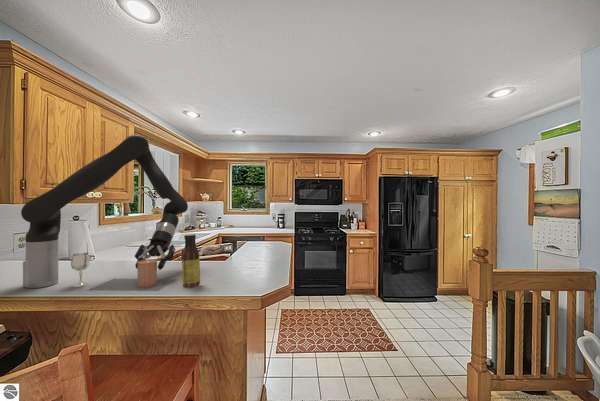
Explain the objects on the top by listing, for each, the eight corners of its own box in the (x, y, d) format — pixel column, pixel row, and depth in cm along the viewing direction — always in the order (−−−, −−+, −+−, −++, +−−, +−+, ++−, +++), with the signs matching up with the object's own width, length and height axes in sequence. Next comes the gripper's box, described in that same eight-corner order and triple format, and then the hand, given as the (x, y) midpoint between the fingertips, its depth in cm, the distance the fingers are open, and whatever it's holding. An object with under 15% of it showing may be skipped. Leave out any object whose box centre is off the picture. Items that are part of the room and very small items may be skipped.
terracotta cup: (133, 286, 100) (133, 263, 100) (144, 281, 107) (144, 259, 107) (150, 287, 100) (150, 263, 100) (160, 281, 107) (160, 259, 107)
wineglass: (79, 288, 100) (79, 256, 100) (66, 286, 102) (66, 255, 102) (93, 283, 106) (93, 253, 106) (82, 282, 107) (82, 252, 107)
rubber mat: (86, 291, 97) (86, 290, 97) (113, 279, 111) (113, 278, 111) (158, 292, 97) (158, 290, 97) (176, 280, 111) (176, 279, 111)
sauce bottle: (203, 284, 105) (203, 234, 105) (190, 289, 99) (191, 236, 99) (191, 282, 108) (191, 233, 108) (178, 287, 102) (178, 235, 102)
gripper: (143, 229, 113) (125, 263, 102) (177, 229, 113) (163, 263, 102) (150, 240, 118) (134, 273, 107) (182, 240, 118) (170, 273, 107)
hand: (148, 268), depth 104 cm, fingers open, 8 cm apart
